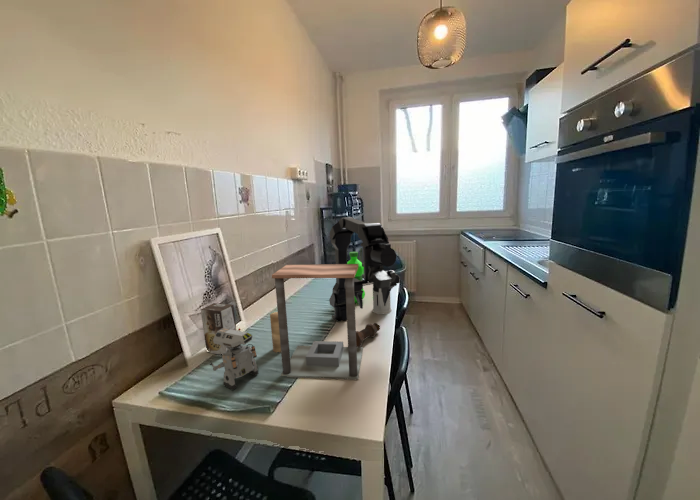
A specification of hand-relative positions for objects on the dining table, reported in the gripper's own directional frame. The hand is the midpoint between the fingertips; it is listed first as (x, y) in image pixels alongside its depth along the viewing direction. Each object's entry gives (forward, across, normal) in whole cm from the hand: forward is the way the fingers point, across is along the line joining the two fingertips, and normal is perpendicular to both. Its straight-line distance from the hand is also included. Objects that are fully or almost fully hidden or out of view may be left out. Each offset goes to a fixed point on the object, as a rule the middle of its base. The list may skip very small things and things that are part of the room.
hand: (373, 305), depth 100 cm
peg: (+15, -30, +14) cm, 36 cm away
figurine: (+15, -45, +3) cm, 48 cm away
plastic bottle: (+15, +15, +44) cm, 49 cm away
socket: (+15, -18, 0) cm, 23 cm away
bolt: (+14, 0, +5) cm, 15 cm away
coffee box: (+15, -48, +24) cm, 56 cm away
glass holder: (+15, +18, +24) cm, 34 cm away
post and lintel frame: (+15, -19, -1) cm, 24 cm away
